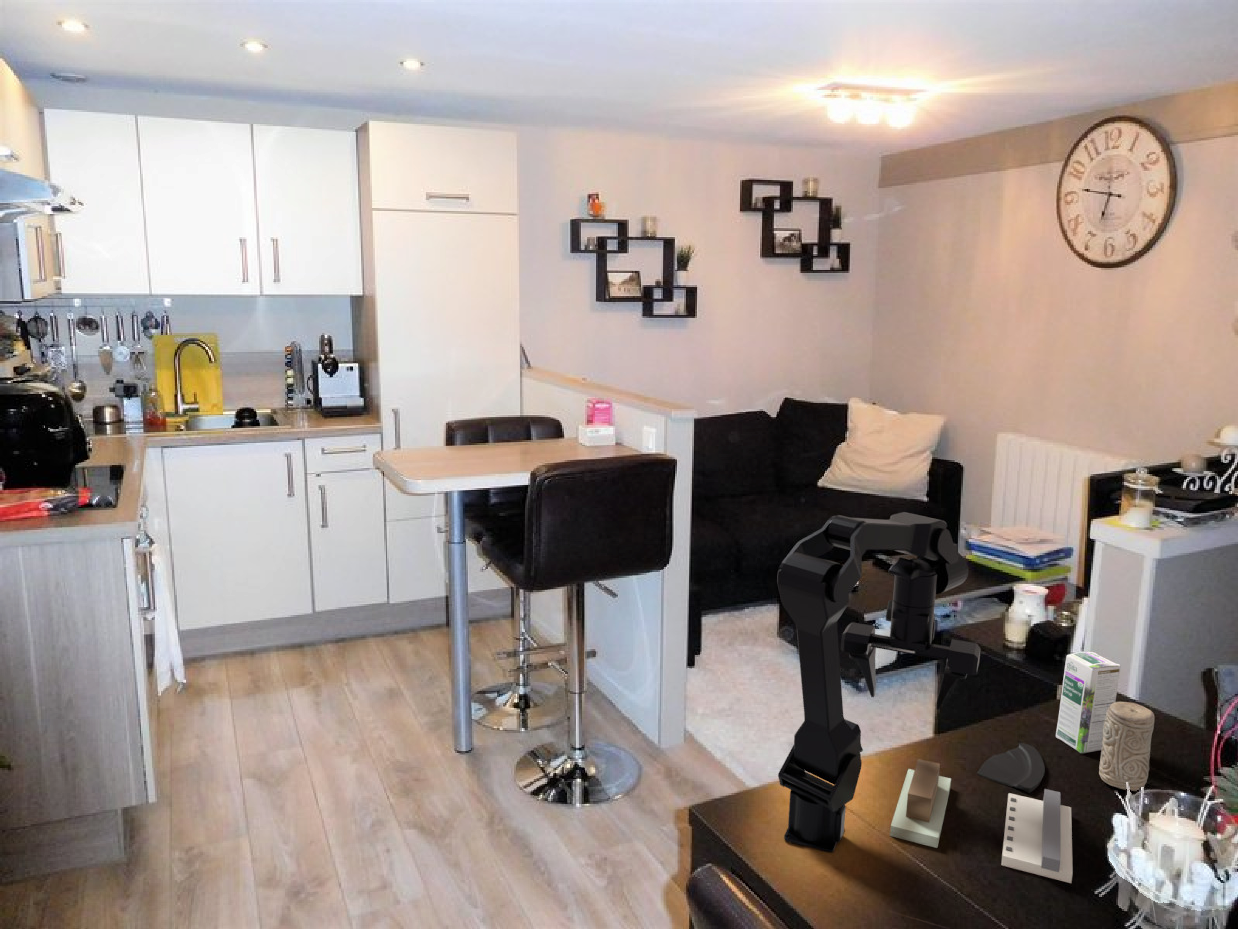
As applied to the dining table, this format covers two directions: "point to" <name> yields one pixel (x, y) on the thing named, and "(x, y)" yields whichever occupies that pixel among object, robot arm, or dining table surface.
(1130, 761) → the carving
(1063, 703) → the syrup box
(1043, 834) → the notched base stand
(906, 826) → the green base with block
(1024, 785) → the curved wedge
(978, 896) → the dining table surface
